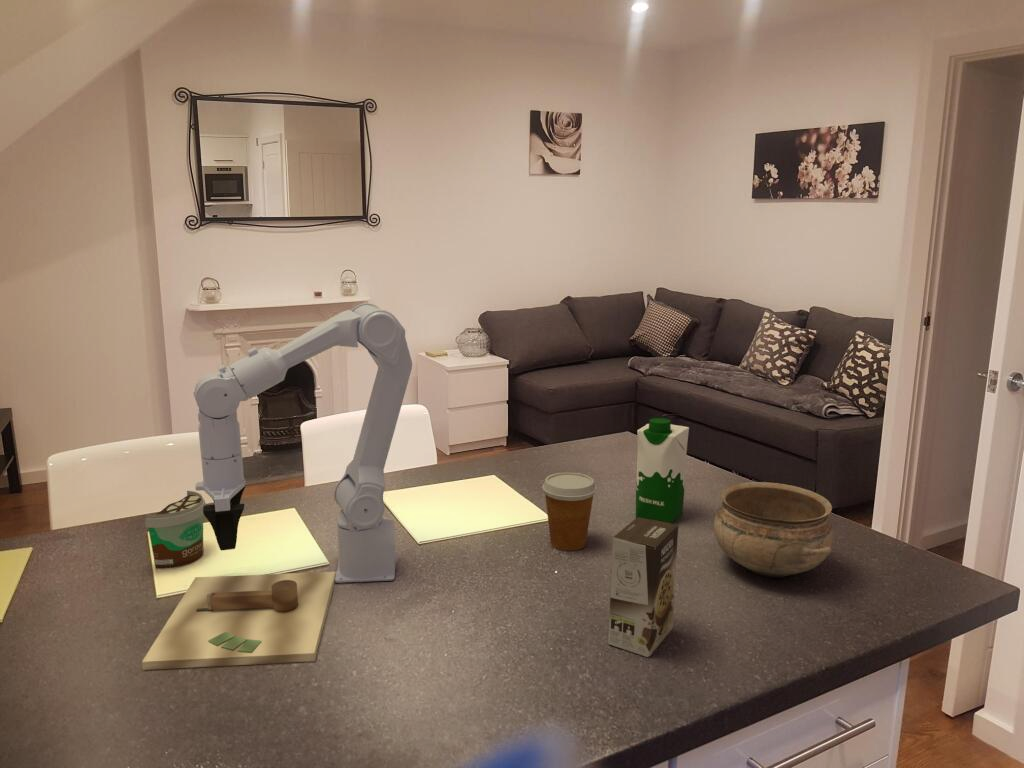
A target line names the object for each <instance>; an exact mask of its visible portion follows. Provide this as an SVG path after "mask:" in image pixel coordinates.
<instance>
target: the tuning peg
mask: <svg viewBox="0 0 1024 768" xmlns="http://www.w3.org/2000/svg"><path fill="white" fill-rule="evenodd" d="M207 604H208V609H210V610H221V609H243V608H265V607H273V609H274V610H276V611H280V612H285V611H290V610H293V609H295V608H296V607H297V606H298V595H297V583H296V582H295V581H292V580H282V581H279V582H276V583H274V584H273V585H272V590H266V591H243V592H219V593H210V594H208V595H207Z"/></svg>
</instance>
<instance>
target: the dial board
mask: <svg viewBox="0 0 1024 768" xmlns="http://www.w3.org/2000/svg"><path fill="white" fill-rule="evenodd" d="M336 572H337V571H320V572H319V571H318V572H317V571H316V572H296V573H295V572H294V573H272V574H271V573H269V574H267V573H266V574H265V573H264V574H244V575H243V574H242V575H222V576H221V575H219V576H217V575H216V576H195V577H194V578H193V580H192V581H191V584H190V585H189V587H188V588H187V590H186V592H185V593H184V595H183V597H181V600H180V601H179V603H178V604H177V606H176V607H175V608H174V611H173V612H172V613H171V615H170V617H169V618H168V620H167V622H166V623H165V625H164V626H163V628H162V629H161V631H160V632H159V634H158V636H157V637H156V638H155V640H154V642H153V643H152V645H151V647H150V648H149V649H148V651H147V653H146V655H145V656H144V658H143V659H142V661H141V665H142V671H146V670H150V671H151V670H153V671H154V670H168V669H169V670H170V669H173V670H174V669H189V668H207V667H208V668H210V667H226V666H227V667H228V666H245V665H246V666H247V665H248V666H249V665H251V666H252V665H266V664H267V665H268V664H283V663H284V664H286V663H303V662H307V663H308V662H315V661H316V657H317V654H318V650H319V646H320V641H321V638H322V634H323V630H324V627H325V622H326V619H327V614H328V612H329V611H328V610H329V607H330V604H331V599H332V594H333V591H334V588H335V587H334V586H335V583H336V582H335V576H336ZM282 580H292V581H295V582H296V583H297V595H298V606H297V607H296V608H295V609H293V610H290V611H285V612H280V611H276V610H274V609H273V607H265V608H243V609H221V610H210V609H208V604H207V595H208V594H210V593H219V592H243V591H266V590H272V585H273V584H274V583H276V582H279V581H282Z"/></svg>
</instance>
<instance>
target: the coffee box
mask: <svg viewBox="0 0 1024 768" xmlns="http://www.w3.org/2000/svg"><path fill="white" fill-rule="evenodd" d="M679 528H680V527H679V525H678V524H674V523H672V524H671V523H666V522H662V521H656V520H649V519H645V518H640V517H637V518H636V517H635V519H633V520H632V521H631V522H630V523H629V524H627V525H626V526H625V527H624V528H623V529H621V530H620V531H619V532H617V533H616V534H615V535H614V536H613V537H612V550H611V551H612V552H611V553H612V554H611V575H610V593H609V594H610V597H609V598H610V599H609V601H610V602H609V615H608V616H609V618H608V619H609V621H608V623H609V624H608V639H607V641H608V645H609V646H613V647H616V648H619V649H622V650H625V651H628V652H631V653H634V654H637V655H639V656H643V657H646V658H649V657H650V656H651V655H652V654H653V653H654V651H656V649H657V648H658V647H659V646H660V644H661V643H662V642H663V641H664V640H665V639H666V637H667V636H668V635H669V634H670V633H671V631H672V630H673V627H674V625H673V624H674V610H675V607H674V606H675V592H676V589H675V587H676V572H677V555H678V554H677V552H678V537H679Z"/></svg>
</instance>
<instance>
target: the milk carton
mask: <svg viewBox="0 0 1024 768" xmlns="http://www.w3.org/2000/svg"><path fill="white" fill-rule="evenodd" d="M689 432H690V427H689V426H684V425H676V424H672V422H671V420H670V419H669V418H666V417H665V418H664V417H653V418H650V419H649V420H648V423H646V424H645V425H644V426H642V427H641V428H639V429H637V431H636V433H637V434H636V435H637V457H636V480H635V481H636V483H635V519H636V518H637V517H640V518H645V519H649V520H656V521H662V522H666V523H671V524H674V522H676V521H677V520H678V519H679V518H681V516H682V515H683V512H684V511H683V510H684V500H685V487H686V472H687V470H686V469H687V468H686V467H687V453H688V452H687V451H688V450H687V449H688V443H689V442H688V441H689V439H688V438H689Z"/></svg>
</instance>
